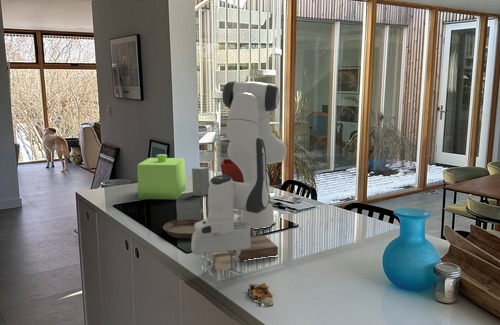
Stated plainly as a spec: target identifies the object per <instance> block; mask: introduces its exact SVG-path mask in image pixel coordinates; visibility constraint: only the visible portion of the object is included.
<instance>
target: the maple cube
mask: <svg viewBox="0 0 500 325" xmlns="http://www.w3.org/2000/svg"><path fill="white" fill-rule="evenodd" d="M211 254H212V257H211V259H212V268H213V270H216V271H215V272H217V273H218V272H224V271H223V270H226V271H230V270H229V269H232V267H231V261H232V256H231V254H230V253H229V251H225V252H216V253H211Z"/></svg>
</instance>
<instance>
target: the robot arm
mask: <svg viewBox="0 0 500 325" xmlns="http://www.w3.org/2000/svg"><path fill="white" fill-rule="evenodd" d="M221 97H222V103H223V105H224V106H225V107H226V108H228V109H229V111H228V114H227V115H228V116H227V120H226V130H225V133H226V137H227V140H228V141H229V143H228V146H227V149H226V152H227V155H228V159H230V160H231V161H232V162H234V163H235V164H236V165H237V166H238V167H239V169H240V170H241V172H242V175H243V179H244V183H241V182H235V181H233V180H232V178H231V177H230V176H227V175H222V174H219V175H216V176H213V177H212V178H210V179H209V188H208V194H207V206H208V214H207V217H206V218H205V219H201V220H202V221H199V222H197V223H195V225H194V227H195V230H196V231H194V233H193V235H192V238H191V243H190V244H191V245H190V246H191V248H190V249H191V252H192V253H193V255H195V256H198V255H201V256H202V257H203V259H204V261H205V262H204V263H205V266H207V267H208V266H211V263H212V261H211V259H210V258H207V257H208V254H212V253H216V252H225V251H227V252H232V251H233V250H235V251H236V253H235V254H234V255H232V256H231V261H232V262H233V263H238V261H239V259H238V256H239V255H240V253H241V250H242V249H249V247H250V246H251V240H250V236H251V235H250V233H251V231H252V229H251V228H263V227H267V226H270V225H271V224H273V223H274V222H276V223H277V221H276V220H275V219H274V208H273V205H272V204H271V194H270V178H269V176H268V174H267V165H268V164H269V165H271V164H278V163H282V162H283V161H284V160H285V159H286V157H287V153H288V152H287V151H288V148H287V146H286V144H285V142H284V141H283V140H282V139H280V138H279V137H277V136H276V134H274V132H273V131H272V129H271V120H270V112H274V111H275V110H276V109H278V106H279V104H280V101H281V94H280V89H279V87H278V86H277V85H276V84H274V83H271V82H269V83H267V82H262V81H254V80H253V81H236V80H233V81H227V83H225V85H224V86H223V89H222V93H221ZM234 210H235V212H234Z"/></svg>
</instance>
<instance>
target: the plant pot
mask: <svg viewBox="0 0 500 325" xmlns="http://www.w3.org/2000/svg"><path fill="white" fill-rule="evenodd" d="M220 170H221V175H227V176H230V177H231V178H232V180H233V181H235V182H241V183H244V179H243V175H242V172H241V170H240V169H239V167H238V166H237V165H236V164H235V163H234V162H232V161H231V160H230V158H224V159H222V161H221V162H220Z"/></svg>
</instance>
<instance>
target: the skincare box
mask: <svg viewBox="0 0 500 325" xmlns="http://www.w3.org/2000/svg"><path fill="white" fill-rule="evenodd" d="M191 171H192V172H191V178H192V196H198V197H204V196H206V195H207V196H208V188H209V183H210V172H209V171H210V169H209V167H207V166H198V167H194V168H192V169H191Z"/></svg>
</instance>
